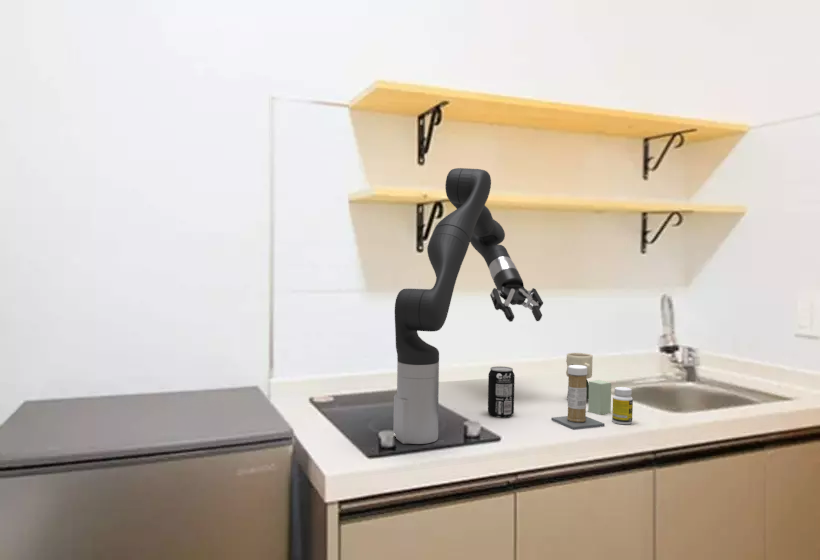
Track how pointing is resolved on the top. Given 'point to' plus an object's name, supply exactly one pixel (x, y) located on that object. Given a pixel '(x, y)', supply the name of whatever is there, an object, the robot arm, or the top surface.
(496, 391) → the beverage can
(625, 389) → the supplement bottle
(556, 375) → the top surface
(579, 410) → the sprinkles bottle
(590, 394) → the sage block
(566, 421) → the slate coaster
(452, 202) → the robot arm
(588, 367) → the character mug
